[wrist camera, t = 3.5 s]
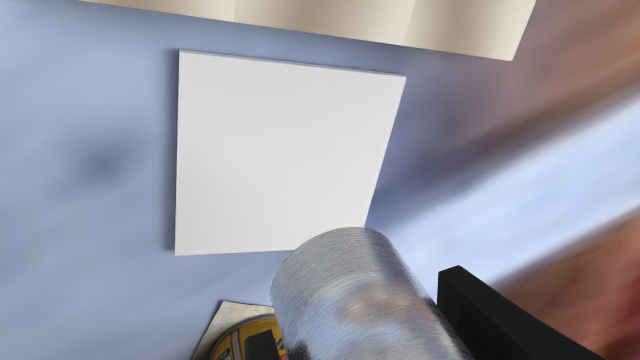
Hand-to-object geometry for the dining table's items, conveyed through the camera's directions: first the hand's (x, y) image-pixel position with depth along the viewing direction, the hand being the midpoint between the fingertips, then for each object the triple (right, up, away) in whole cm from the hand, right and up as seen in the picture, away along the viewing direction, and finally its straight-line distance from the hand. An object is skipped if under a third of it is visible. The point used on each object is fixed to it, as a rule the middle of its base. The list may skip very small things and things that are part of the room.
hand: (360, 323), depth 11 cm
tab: (-3, +4, +7) cm, 9 cm away
